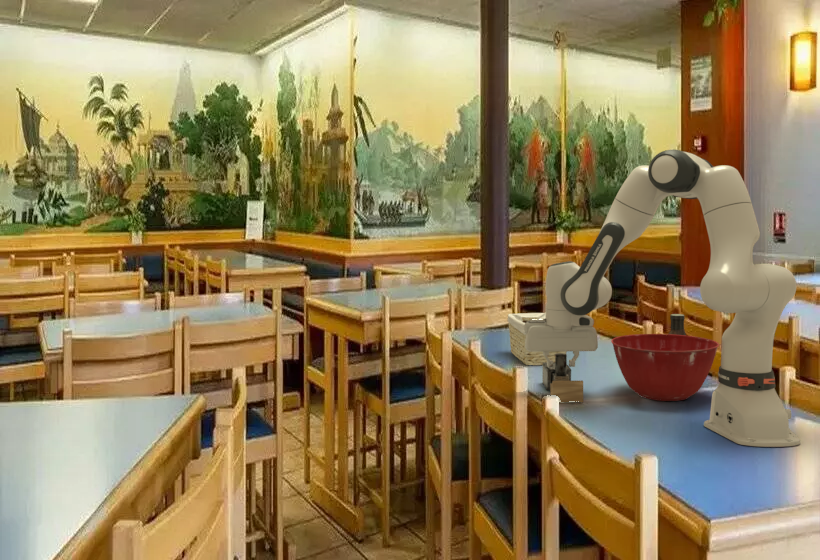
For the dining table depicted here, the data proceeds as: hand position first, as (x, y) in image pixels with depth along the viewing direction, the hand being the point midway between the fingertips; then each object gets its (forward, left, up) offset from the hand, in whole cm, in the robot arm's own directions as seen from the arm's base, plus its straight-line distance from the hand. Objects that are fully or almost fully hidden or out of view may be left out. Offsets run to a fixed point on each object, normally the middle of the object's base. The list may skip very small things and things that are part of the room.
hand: (560, 366), depth 211 cm
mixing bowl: (-3, -28, -8) cm, 29 cm away
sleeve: (+7, 0, -8) cm, 10 cm away
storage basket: (+47, 0, -8) cm, 48 cm away
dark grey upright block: (+4, 0, -6) cm, 8 cm away
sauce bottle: (+16, -38, -8) cm, 42 cm away
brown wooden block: (-9, 0, -8) cm, 12 cm away
